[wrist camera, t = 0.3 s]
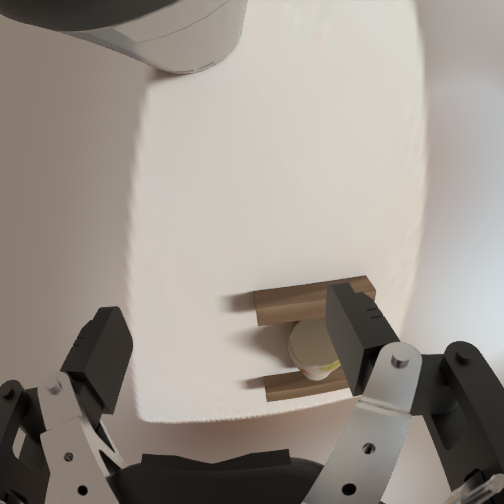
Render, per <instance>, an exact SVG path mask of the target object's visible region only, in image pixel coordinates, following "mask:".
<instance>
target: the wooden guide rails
mask: <svg viewBox="0 0 504 504" xmlns="http://www.w3.org/2000/svg"><path fill="white" fill-rule="evenodd" d="M343 281H348V282H349V283H350V285H351V287H352V288H353V290H354V291H355V293H358V292H363V293H365V294H366V295H368V296H369V297H371V298H372V299H373V300H374V301H375V295H376V290H375V288H374V287H373V285H372V284H371V282H370V281H369V279H368V278H367V276H360V277H354V278H347V279H341V280H334V281H327V282H320V283H313V284H306V285H299V286H292V287H284V288H276V289H268V290H260V291H254V298H255V306H256V314H257V322H258V326H262V325H270V324H278V323H285V322H292V321H299V320H306V319H312V318H319V317H325V314H326V294H327V285H328V284H330V283H337V282H343ZM264 383H265V391H266V399H267V402H270V401H278V400H285V399H292V398H298V397H304V396H310V395H315V394H321V393H326V392H331V391H336V390H340V389H345V388H349V384H348V382H347V379H346V377H345V374H344V372H343V369H342V366H341V365H340V366H339V367H338V368H337V369H335V370H334V371H332V372H330V374H329V375H328V376H327V377H326V378H324V379H322V380H310V379H308V378H307V377H306V376H305V375H304V374H303V372H302V371H299V372H293V373H286V374H279V375H272V376H264Z"/></svg>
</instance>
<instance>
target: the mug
mask: <svg viewBox="0 0 504 504" xmlns="http://www.w3.org/2000/svg"><path fill="white" fill-rule="evenodd" d="M288 352H289V356H290V358H291V361H292V362H293V364H294V365H295V366H296V367H297V368H298V369H299V370H301V371H302V372H303V374H304V375H305V376H306V377H307V378H308V379H310V380H322V379H324V378H326V377H327V376H328V375H329V374H330V372H332V371H334V370H335V369H337V368H338V367H339V366H340V365H341V364H340V361H339V359H338V356H337V354H336V351H335V349H334V346H333V344H332V341H331V339H330V336H329V334H328V331H327V327H326V320H325V317H319V318H312V319H306V320H301V321H299V323H297V324H296V326H295V327H294V328H293V330H292V332H291V333H290V336H289V339H288Z"/></svg>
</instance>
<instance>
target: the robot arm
mask: <svg viewBox="0 0 504 504" xmlns="http://www.w3.org/2000/svg"><path fill="white" fill-rule="evenodd" d="M247 2H248V0H0V14H2V15H3V16H5V17H7V18H10V19H13V20H16V21H18V22H22V23H25V24H30V25H34V26H38V27H42V28H46V29H50V30H54V31H57V32H61V33H64V34H68V35H71V36H74V37H77V38H80V39H84V40H88V41H90V42H93V43H96V44H98V45H101V46H104V47H106V48H109V49H112V50H114V51H117V52H120V53H122V54H125V55H127V56H129V57H132V58H135V59H137V60H139V61H141V62H144V63H146V64H148V65H150V66H153V67H155V68H157V69H160V70H162V71H166V72H169V73H176V74H189V73H196V72H199V71H203V70H206V69H208V68H210V67H213V66H215V65H216V64H218V63H219V62H221V61H222V60H224V59H225V58H226V57H227V56H228V55H229V54H230V53H231V52H232V50H233V49H234V47H235V46H236V44H237V43H238V40H239V38H240V35H241V32H242V27H243V22H244V17H245V12H246V7H247ZM325 320H326V327H327V331H328V334H329V336H330V339H331V341H332V344H333V346H334V349H335V351H336V354H337V356H338V359H339V361H340V364H341V366H342V369H343V372H344V374H345V377H346V379H347V382H348V384H349V387H350V390H351V392H352V395H353V397H354V396H358V395H362V394H363V395H362V397H361V399H360V400H359V401H358V402H357V405H356V406H355V409H354V411H353V413H352V415H351V417H350V419H349V421H348V423H347V425H346V427H345V429H344V431H343V433H342V435H341V437H340V439H339V441H338V443H337V445H336V446H335V449H334V450H333V452H332V454H331V456H330V457H329V459H328V461H327V463H326V464H325V466H324V465H322V464H320V463H317V462H314V461H311V460H306V459H301V458H292V457H290V456H289V449H284V450H277V451H268V452H260V453H250V454H247V455H244V456H241V457H237V458H234V459H230V460H226V461H222V462H219V463H214V464H210V463H204V462H200V461H195V460H191V459H187V458H183V457H179V456H172V455H152V454H142V461H141V463H138V464H134V465H131V466H127V465H126V463H125V462H124V461H123V459H122V458H121V456H120V454H119V453H118V451H117V449H116V447H115V445H114V444H113V442H112V440H111V438H110V436H109V434H108V432H107V430H106V428H105V426H104V424H103V422H102V421H101V420H100V418H101V415H102V413H103V414H113V413H114V410H115V406H116V403H117V399H118V396H119V392H120V389H121V385H122V382H123V379H124V375H125V372H126V369H127V366H128V363H129V360H130V357H131V354H132V351H133V340H132V336H131V334H130V331H129V329H128V327H127V324H126V322H125V319H124V317H123V314H122V312H121V310H120V308H119V307H117V306H114V307H101V308H99V309H98V311H97V313H96V315H95V316H94V318H93V320H90V321H89V322H88V323H87V324H86V325H85V326H84V327H83V328H82V329H81V331H80V333H79V335H78V337H77V339H76V340H75V342H74V344H73V347H72V348H71V350H70V352H69V354H68V355H67V357H66V360H65V361H64V363H63V365H62V368H61V370H60V371H57V372H52V373H50V374H48V375H47V376H45V377H44V378H43V379H42V380H41V382H40V384H39V386H38V387H37V388H32V389H27V390H25V389H24V388H23V387H22V385H21V384H20V383H19V382H18V381H16V380H10V381H7V382H5V383H4V384H2V385H1V387H0V504H44V503H45V497H46V492H47V487H48V482H49V477H50V473H51V475H52V478H53V481H54V484H55V486H56V489H57V492H58V494H59V497H60V499H61V502H62V504H385V503H383V502H381V501H380V500H381V498H382V496H383V493H384V491H385V489H386V486H387V484H388V482H389V479H390V477H391V475H392V472H393V470H394V467H395V465H396V462H397V459H398V457H399V454H400V451H401V448H402V445H403V442H404V440H405V436H406V433H407V430H408V427H409V424H410V420H411V416H412V415H413V416H415V415H423V418H424V420H425V422H426V425H427V427H428V430H429V432H430V435H431V437H432V440H433V442H434V445H435V447H436V450H437V452H438V455H439V457H440V460H441V463H442V466H443V468H444V471H445V474H446V477H447V480H448V483H449V486H450V489H451V492H452V493H451V494H450V495H449V496H448V497H447V499H446V501H445V504H504V388H503V386H502V384H501V383H500V381H499V380H498V378H497V377H496V375H495V374H494V372H493V371H492V369H491V368H490V366H489V364H488V363H487V362H486V360H485V359H484V357H483V356H482V354H481V353H480V351H479V350H478V349H477V348H476V347H475V346H473V345H472V344H470V343H467V342H463V341H457V342H453V343H451V344H450V345H448V346H447V348H446V350H445V352H444V354H435V355H434V354H432V355H423V354H420V352H419V351H418V350H417V349H416V348H415V347H414V346H412V345H410V344H407V343H404V342H400V340H399V338H398V337H397V335H396V334H395V332H394V331H393V329H392V328H391V326H390V324H389V323H388V321H387V320H386V318H385V317H383V314H382V312H381V311H380V309H378V306H377V305H376V303H375V302H374V300H373V299H372V298H371V297H369V296H368V295H366V294H365V293H363V292H358V293H355V291H354V290H353V288H352V287H351V285H350V283H349V282H348V281H343V282H337V283H330V284H328V285H327V294H326V314H325ZM18 428H20V429H21V430H22V431H23V432H24V433H25V434H26V437H25V440H24V443H23V446H22V449H21V452H20V456H19V459H17V458H16V457H15V455H14V453H13V449H12V447H13V443H14V440H15V437H16V434H17V431H18Z"/></svg>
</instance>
